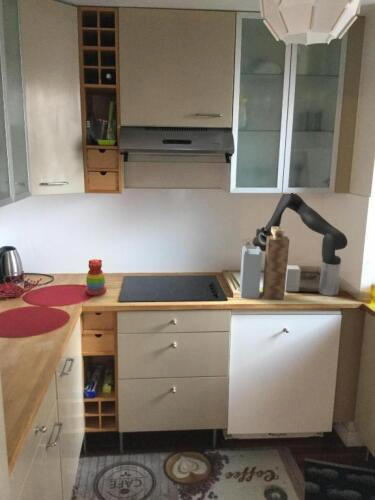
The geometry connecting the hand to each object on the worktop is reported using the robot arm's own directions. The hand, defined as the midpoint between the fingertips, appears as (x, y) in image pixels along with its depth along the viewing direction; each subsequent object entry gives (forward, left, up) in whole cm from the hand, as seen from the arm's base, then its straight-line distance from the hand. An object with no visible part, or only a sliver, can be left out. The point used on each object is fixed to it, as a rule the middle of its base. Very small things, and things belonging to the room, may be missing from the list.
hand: (271, 229), depth 234 cm
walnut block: (0, +19, -32) cm, 37 cm away
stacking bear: (+92, +19, -32) cm, 99 cm away
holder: (+12, +15, -32) cm, 37 cm away
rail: (0, +15, 0) cm, 15 cm away
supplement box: (-12, +5, -32) cm, 35 cm away
